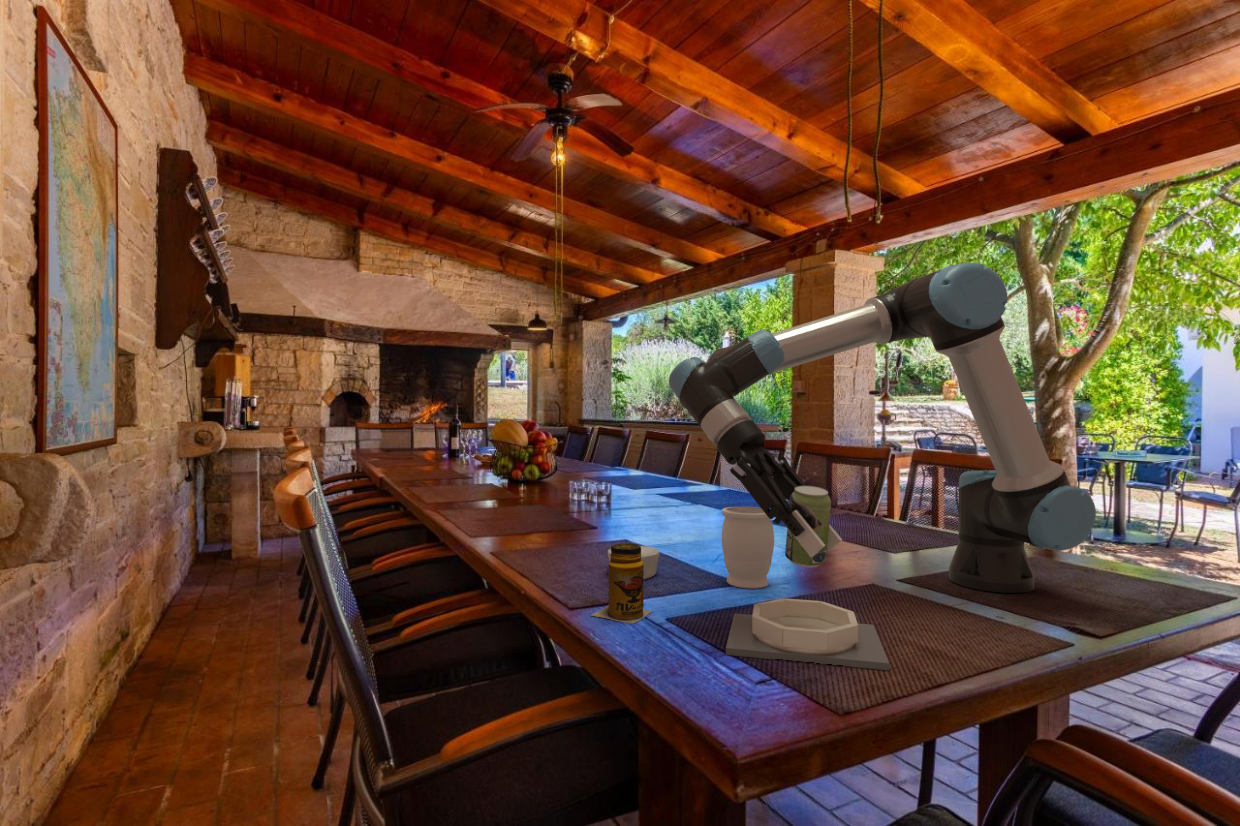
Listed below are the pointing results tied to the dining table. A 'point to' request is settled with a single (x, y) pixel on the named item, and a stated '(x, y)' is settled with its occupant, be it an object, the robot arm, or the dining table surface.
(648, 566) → the ramekin
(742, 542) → the jar
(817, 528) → the beverage can
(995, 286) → the robot arm
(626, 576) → the condiment
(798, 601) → the dish
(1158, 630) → the dining table surface
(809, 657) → the slate board
